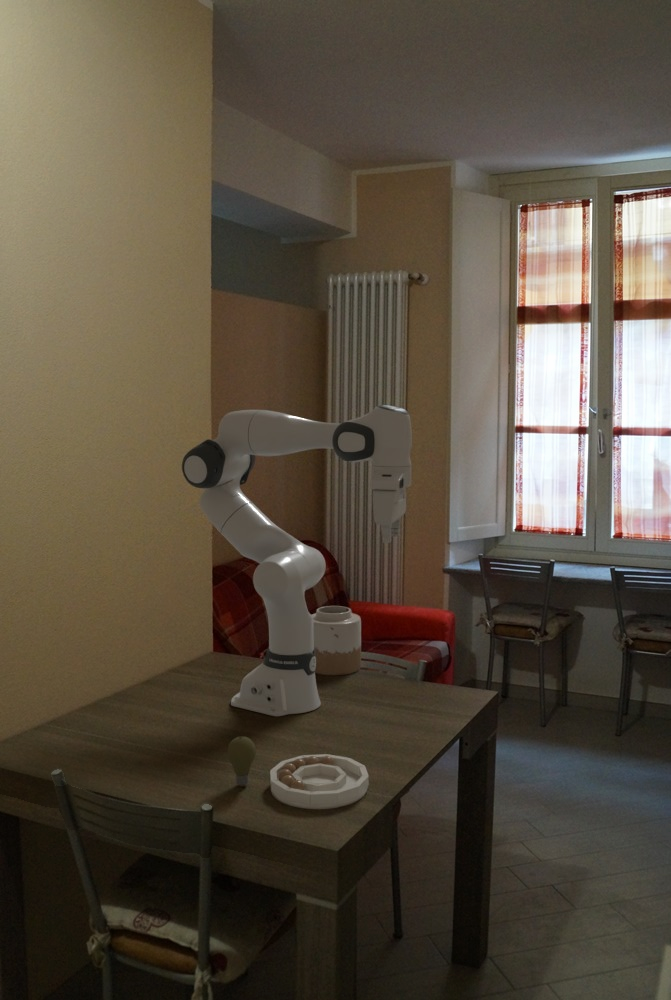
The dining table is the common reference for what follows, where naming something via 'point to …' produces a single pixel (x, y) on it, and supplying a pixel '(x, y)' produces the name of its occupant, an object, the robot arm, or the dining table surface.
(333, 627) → the vase
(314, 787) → the bead tray
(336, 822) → the dining table surface
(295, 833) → the dining table surface
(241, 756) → the light bulb
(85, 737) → the dining table surface
